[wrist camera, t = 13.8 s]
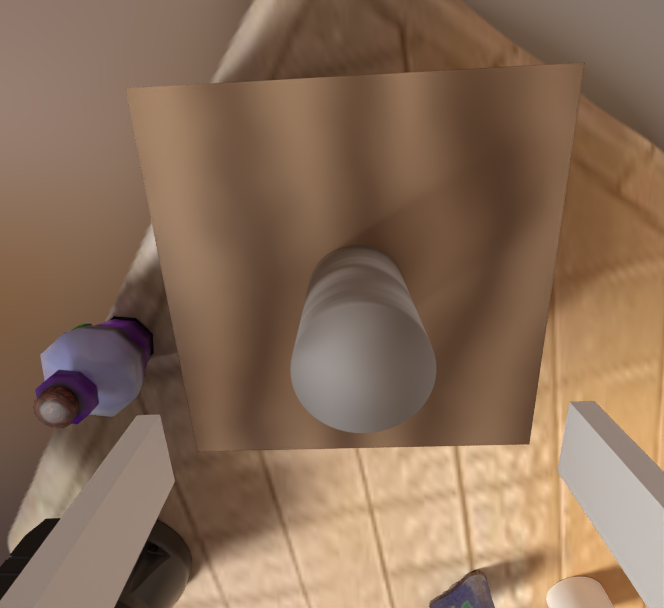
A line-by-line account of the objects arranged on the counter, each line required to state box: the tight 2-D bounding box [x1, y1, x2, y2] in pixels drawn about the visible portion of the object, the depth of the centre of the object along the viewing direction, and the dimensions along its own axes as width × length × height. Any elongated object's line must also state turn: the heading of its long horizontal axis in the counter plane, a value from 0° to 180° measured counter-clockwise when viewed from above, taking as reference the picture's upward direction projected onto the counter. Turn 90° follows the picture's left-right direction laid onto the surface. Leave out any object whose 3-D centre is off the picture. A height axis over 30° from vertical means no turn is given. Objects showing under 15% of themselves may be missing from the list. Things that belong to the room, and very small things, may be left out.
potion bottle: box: [34, 316, 154, 428], centre depth 38 cm, size 9×9×12 cm
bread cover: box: [126, 63, 584, 451], centre depth 28 cm, size 24×24×23 cm
